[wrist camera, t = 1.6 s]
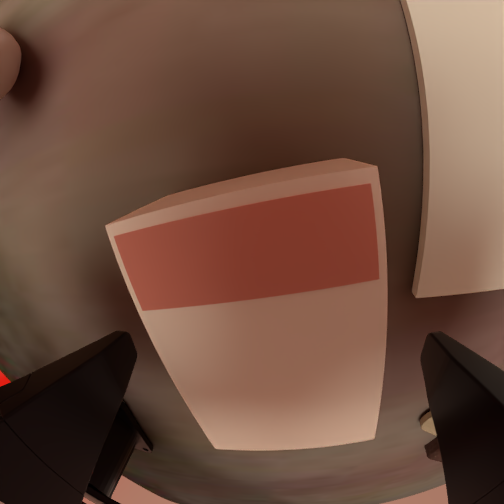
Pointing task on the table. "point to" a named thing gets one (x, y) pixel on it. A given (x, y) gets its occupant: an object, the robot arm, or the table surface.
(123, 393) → the robot arm
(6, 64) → the donut
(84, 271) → the table surface
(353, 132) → the table surface
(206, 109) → the table surface
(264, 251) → the card deck
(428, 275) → the mat
